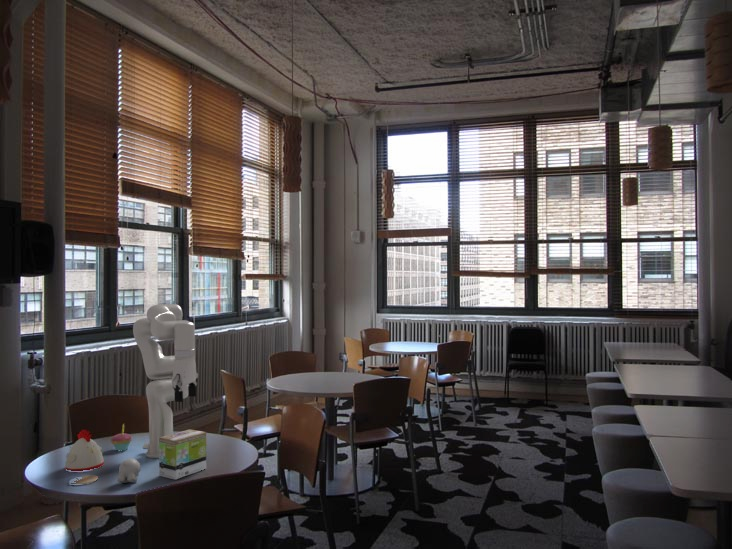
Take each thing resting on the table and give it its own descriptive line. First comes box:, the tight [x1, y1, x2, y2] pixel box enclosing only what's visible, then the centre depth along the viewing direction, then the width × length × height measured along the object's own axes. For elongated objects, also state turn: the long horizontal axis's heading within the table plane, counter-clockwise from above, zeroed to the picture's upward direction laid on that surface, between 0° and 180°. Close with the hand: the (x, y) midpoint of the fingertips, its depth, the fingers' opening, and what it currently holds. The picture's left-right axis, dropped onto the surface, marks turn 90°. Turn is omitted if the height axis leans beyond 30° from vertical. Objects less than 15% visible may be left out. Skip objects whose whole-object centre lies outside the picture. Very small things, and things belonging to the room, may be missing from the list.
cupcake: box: [110, 423, 132, 452], centre depth 261 cm, size 9×8×12 cm
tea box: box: [158, 428, 207, 480], centre depth 228 cm, size 15×10×15 cm
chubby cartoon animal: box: [116, 458, 141, 484], centre depth 219 cm, size 7×12×8 cm, turn 179°
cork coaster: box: [71, 474, 99, 485], centre depth 220 cm, size 10×10×1 cm
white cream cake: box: [64, 429, 105, 471], centre depth 237 cm, size 14×14×15 cm
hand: (185, 398), depth 228 cm, fingers open, 9 cm apart
